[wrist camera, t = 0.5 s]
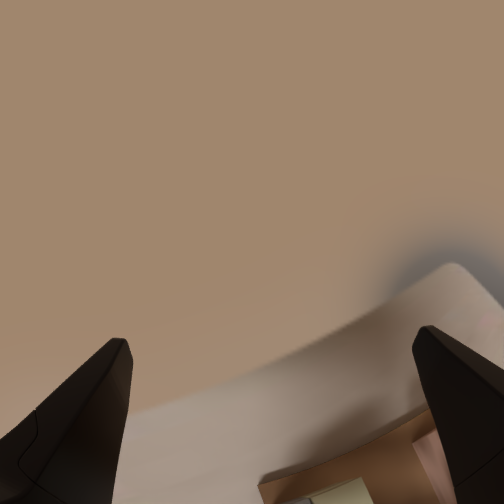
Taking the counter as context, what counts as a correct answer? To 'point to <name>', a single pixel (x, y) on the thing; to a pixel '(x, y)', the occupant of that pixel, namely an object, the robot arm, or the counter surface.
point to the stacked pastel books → (375, 472)
